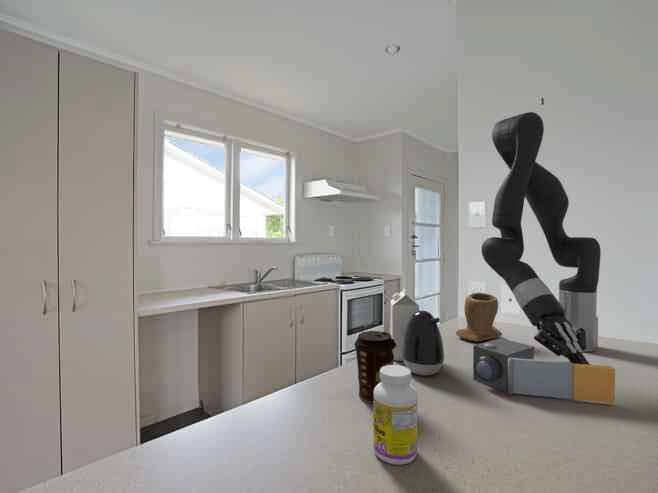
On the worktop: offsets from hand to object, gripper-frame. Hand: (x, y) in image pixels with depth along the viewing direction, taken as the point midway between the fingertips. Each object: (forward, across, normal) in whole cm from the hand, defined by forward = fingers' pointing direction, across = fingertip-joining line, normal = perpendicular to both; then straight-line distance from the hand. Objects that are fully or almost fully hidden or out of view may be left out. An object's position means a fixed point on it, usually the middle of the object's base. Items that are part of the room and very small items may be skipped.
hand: (586, 372), depth 71 cm
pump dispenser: (-11, +24, -20) cm, 33 cm away
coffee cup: (-4, +41, -14) cm, 44 cm away
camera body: (-4, +10, -13) cm, 17 cm away
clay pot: (-25, -9, -34) cm, 43 cm away
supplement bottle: (+8, +46, -1) cm, 47 cm away
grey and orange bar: (+3, +6, -5) cm, 8 cm away
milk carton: (-19, +24, -28) cm, 41 cm away
